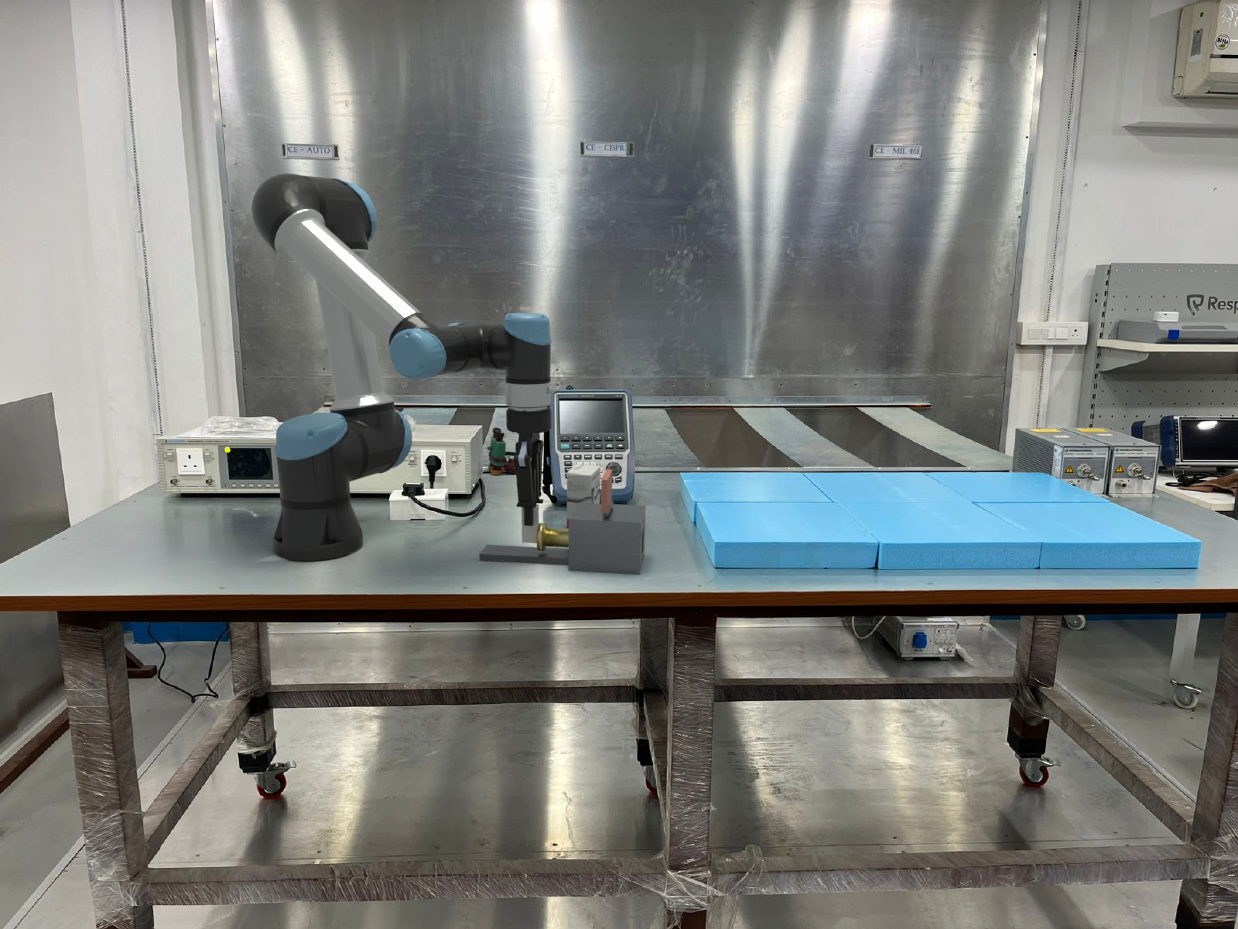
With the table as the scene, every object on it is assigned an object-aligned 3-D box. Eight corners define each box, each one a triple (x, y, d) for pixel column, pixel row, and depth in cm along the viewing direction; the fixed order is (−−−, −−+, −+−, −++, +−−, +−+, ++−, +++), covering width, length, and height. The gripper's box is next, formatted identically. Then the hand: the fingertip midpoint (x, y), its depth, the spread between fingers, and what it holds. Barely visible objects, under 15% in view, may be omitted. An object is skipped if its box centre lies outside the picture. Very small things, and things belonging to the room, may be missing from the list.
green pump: (532, 435, 203) (491, 433, 200) (528, 477, 205) (487, 476, 202) (525, 428, 211) (485, 426, 208) (521, 469, 213) (482, 467, 210)
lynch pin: (536, 554, 144) (536, 527, 143) (542, 545, 149) (541, 519, 148) (623, 558, 143) (624, 531, 142) (626, 549, 147) (626, 523, 146)
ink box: (590, 535, 160) (591, 474, 157) (565, 533, 161) (565, 473, 158) (600, 521, 168) (601, 464, 166) (576, 520, 169) (577, 463, 167)
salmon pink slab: (600, 517, 140) (601, 479, 139) (606, 505, 147) (606, 469, 145) (608, 517, 140) (609, 479, 139) (613, 506, 147) (613, 469, 145)
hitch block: (475, 565, 143) (474, 514, 141) (490, 546, 153) (489, 498, 151) (639, 574, 140) (640, 522, 138) (644, 554, 150) (645, 505, 148)
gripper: (543, 414, 134) (544, 555, 139) (557, 401, 147) (558, 531, 152) (497, 412, 135) (500, 552, 140) (515, 400, 147) (517, 529, 153)
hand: (530, 541), depth 146 cm, fingers closed
